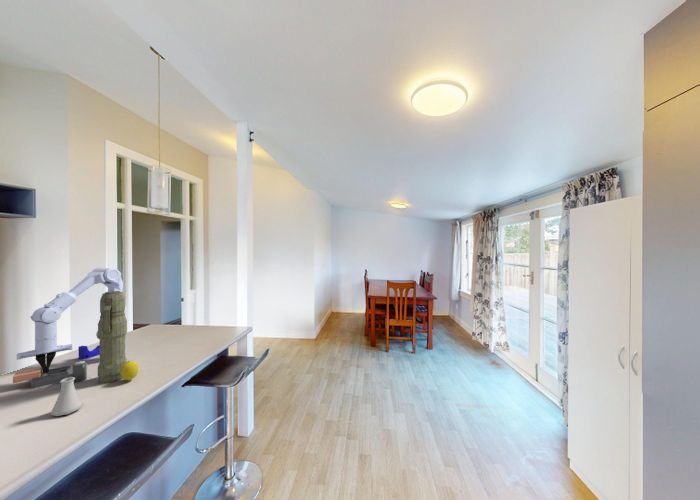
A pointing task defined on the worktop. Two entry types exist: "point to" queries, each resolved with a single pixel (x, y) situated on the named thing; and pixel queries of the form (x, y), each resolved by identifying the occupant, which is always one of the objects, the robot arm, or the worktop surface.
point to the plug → (79, 371)
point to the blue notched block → (88, 352)
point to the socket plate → (52, 376)
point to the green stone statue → (111, 336)
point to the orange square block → (27, 374)
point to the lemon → (129, 370)
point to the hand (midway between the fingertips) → (46, 372)
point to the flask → (67, 399)
